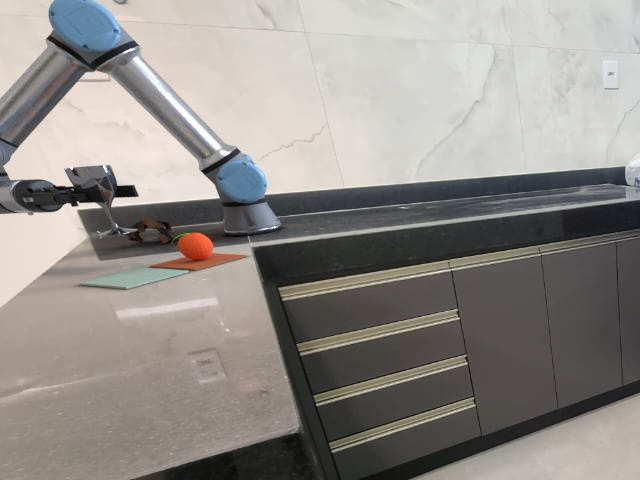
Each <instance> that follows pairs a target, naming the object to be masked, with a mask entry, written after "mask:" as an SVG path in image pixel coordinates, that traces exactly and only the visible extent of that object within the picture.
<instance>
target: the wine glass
mask: <svg viewBox="0 0 640 480" xmlns="http://www.w3.org/2000/svg"><path fill="white" fill-rule="evenodd" d="M63 170H64V172H65V174H66V176H67V178H68V180H69V182H70V183H71V185H72V186H74V187H75V188H76V190H103V192H104V194H105V196H106V199H107V201H108V202H99V203H95V204H96V205H98V206H99V207H100V208H102V210H103V211H104V212H105V214H106V216H107V217H108V219H109V220H110V223H111V224H112V228H111V229H109V230H106V231H104V232H100V233H99V234H98V236H99V237H101V236H102V237H107V236H117V235H126V234H125V233H130V232H134V231H135V232H136V231H137V229H129V228H126V227H125V228H124V227H120V226H119V225H118V224H117V221H116V219H115V217H114V214H113V210H112V204H113V201H114V199H115V198H114V197H115V196H116V194H117V191H118V186H119V185H118V181H117V177H116V174H115V171H114V169H113V168H112V165H111V164H103V165H101V164H100V165H87V166H85V165H84V166H75V167H66V168H64V169H63Z"/></svg>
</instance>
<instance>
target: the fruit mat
mask: <svg viewBox="0 0 640 480" xmlns="http://www.w3.org/2000/svg"><path fill="white" fill-rule="evenodd" d="M246 257H247V255H246V254H233V253H232V254H231V253H229V254H228V253H216V252H215V253H213V252H212V254H211V255H210V256H209V257H208V258H206V259H204V260H192V259H189V258H187V257H185V256H184V257H179V258H176V259H171V260H167V261H164V262H160V263H159V262H158V263H156V264H151V265H149V266H150V267H149V268H159V269H173V270H188V271H194V272H195V271H199V270H203V269H206V268H211V267H213V266H217V265H221V264H225V263H229V262H233V261H236V260H240V259H243V258H246Z"/></svg>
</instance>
